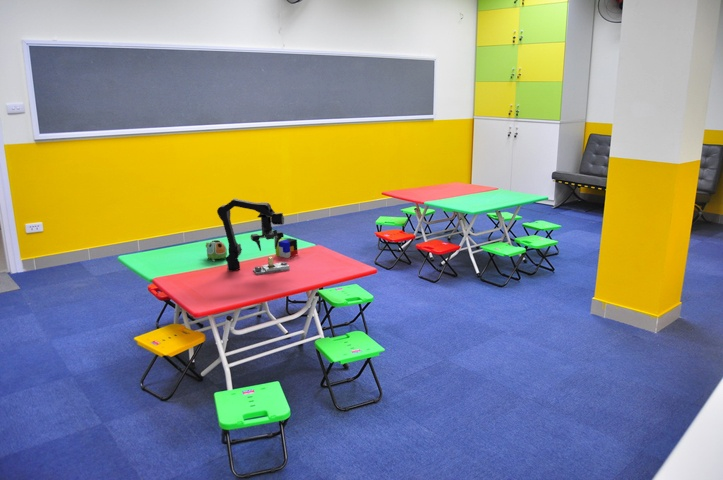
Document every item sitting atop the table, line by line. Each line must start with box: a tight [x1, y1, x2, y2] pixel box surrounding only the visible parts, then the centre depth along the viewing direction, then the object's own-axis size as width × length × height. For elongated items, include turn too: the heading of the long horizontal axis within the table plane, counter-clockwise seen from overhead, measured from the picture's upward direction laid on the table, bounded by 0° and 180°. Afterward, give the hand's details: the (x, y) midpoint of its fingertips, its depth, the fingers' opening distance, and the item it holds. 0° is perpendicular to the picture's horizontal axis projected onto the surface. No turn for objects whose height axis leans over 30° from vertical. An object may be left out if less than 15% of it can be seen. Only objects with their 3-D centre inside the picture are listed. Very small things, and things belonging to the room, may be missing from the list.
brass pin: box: [267, 256, 274, 268], centre depth 342 cm, size 3×3×8 cm
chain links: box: [252, 261, 290, 276], centre depth 342 cm, size 20×9×3 cm, turn 114°
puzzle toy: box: [275, 237, 298, 259], centre depth 372 cm, size 10×10×10 cm
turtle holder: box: [205, 239, 228, 262], centre depth 369 cm, size 12×18×12 cm
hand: (268, 249), depth 341 cm, fingers open, 9 cm apart
